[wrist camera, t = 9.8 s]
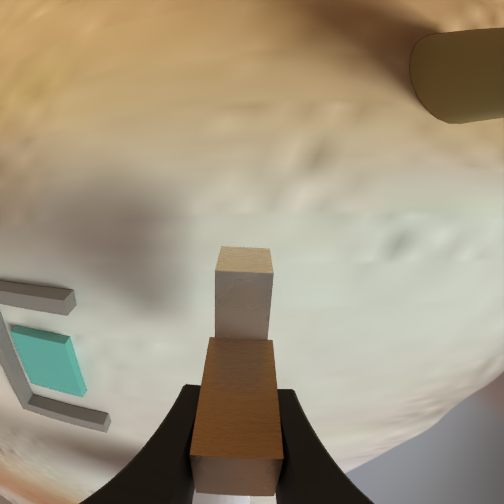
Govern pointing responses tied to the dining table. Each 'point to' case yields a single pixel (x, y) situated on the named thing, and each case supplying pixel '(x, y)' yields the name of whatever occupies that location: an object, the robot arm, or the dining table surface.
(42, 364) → the tile
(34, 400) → the frame
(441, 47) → the cork
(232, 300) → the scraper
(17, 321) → the dining table surface
